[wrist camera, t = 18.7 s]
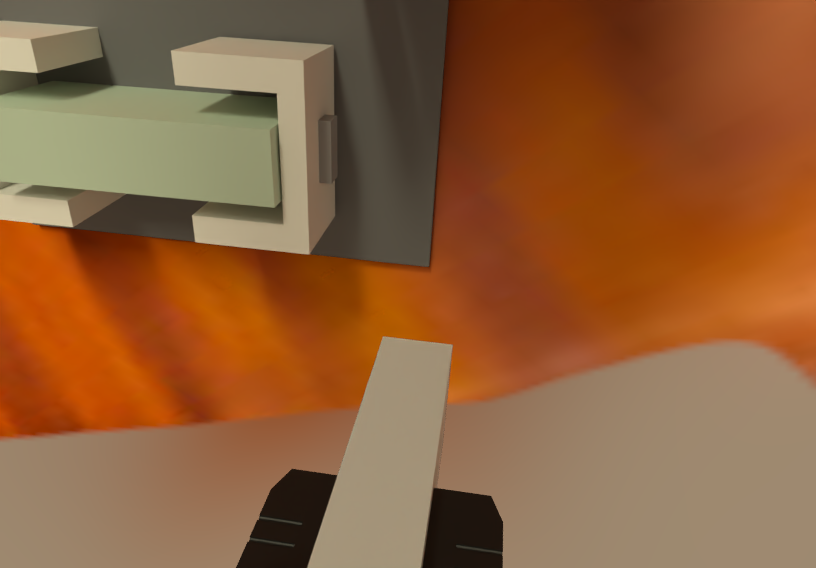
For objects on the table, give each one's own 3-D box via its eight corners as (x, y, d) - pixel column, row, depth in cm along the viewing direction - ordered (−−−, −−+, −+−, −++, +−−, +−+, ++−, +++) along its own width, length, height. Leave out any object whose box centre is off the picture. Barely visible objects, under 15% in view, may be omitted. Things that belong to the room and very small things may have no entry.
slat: (52, 80, 33) (-35, 104, 27) (309, 100, 31) (269, 129, 26) (67, 145, 34) (-13, 180, 29) (312, 167, 33) (274, 207, 28)
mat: (-30, -39, 31) (-36, -39, 30) (449, -9, 28) (448, -9, 28) (37, 221, 37) (32, 224, 37) (429, 263, 35) (428, 266, 35)
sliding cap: (219, 36, 30) (171, 50, 26) (345, 45, 29) (317, 61, 25) (235, 205, 34) (195, 242, 30) (345, 216, 34) (321, 256, 29)
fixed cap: (2, 20, 32) (-80, 31, 27) (97, 27, 31) (30, 39, 27) (42, 184, 36) (-23, 216, 31) (127, 193, 35) (73, 227, 31)
